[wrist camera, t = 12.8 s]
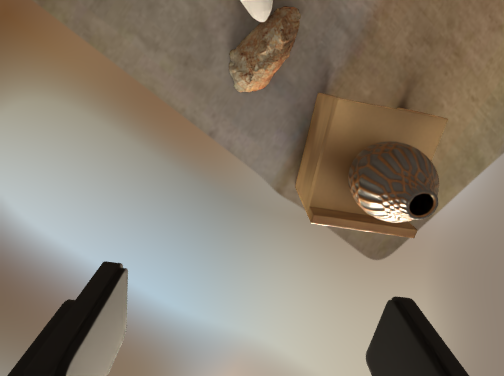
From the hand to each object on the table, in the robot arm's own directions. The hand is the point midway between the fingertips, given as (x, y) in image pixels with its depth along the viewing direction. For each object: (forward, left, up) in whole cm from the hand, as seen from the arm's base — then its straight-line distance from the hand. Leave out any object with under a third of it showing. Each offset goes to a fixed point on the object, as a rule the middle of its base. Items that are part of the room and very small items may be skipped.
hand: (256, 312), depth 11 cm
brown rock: (-10, 0, -28) cm, 30 cm away
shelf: (-1, +13, -28) cm, 31 cm away
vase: (-1, +13, -20) cm, 24 cm away
